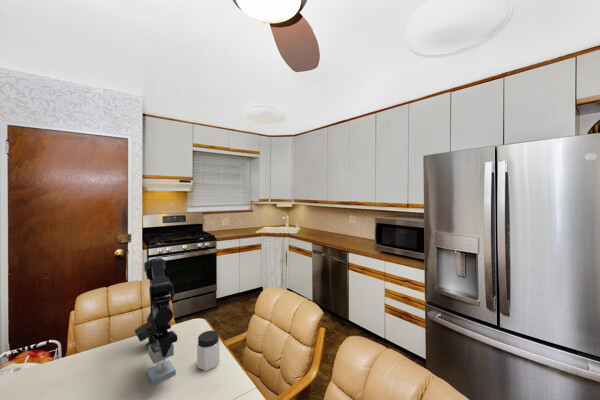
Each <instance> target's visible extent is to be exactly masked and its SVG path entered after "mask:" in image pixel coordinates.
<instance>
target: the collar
mask: <svg viewBox="0 0 600 400" xmlns="http://www.w3.org/2000/svg"><path fill="white" fill-rule="evenodd" d="M156 343H157V342H155V343H152V344H150V345H149V349H148V356H149V358H150V360H151V362H152V363H153V364H157V362H159V361H161V360H164V359H166V360H167V358H170V357H173V356H174V355H175V353H174V352H175V348H174V347H175V346H174V344H173V343H172V345H171V347H170V349H169V351H168V353H167V355H166V357H162V353H161V348H159V347H158V346H157V344H156Z"/></svg>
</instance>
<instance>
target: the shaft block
mask: <svg viewBox="0 0 600 400" xmlns="http://www.w3.org/2000/svg"><path fill="white" fill-rule="evenodd" d="M176 373H177V372H176V368H175V367H174V365H173V364H172V362H171V360H169V359H167V358H166V359H164V360H161V361H159V362H157V363H156V365H155V366H152V367H150V368H148V369H146V375H147V378H148V379H149V381H150V383H151V385H152V386H155V385H158V384H159V383H162V382H163V381H165V380H168V379H170V378H172V377H174V376H176Z"/></svg>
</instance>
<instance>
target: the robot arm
mask: <svg viewBox="0 0 600 400" xmlns="http://www.w3.org/2000/svg"><path fill="white" fill-rule="evenodd" d="M164 270H166V259H164V258H162V257H157V258H151V259H149V260H148V261H146V262H144V263H143V271H144V273H145V276H146V277H147V278H148V280H149V287H148V293H149V304H150V305H149V306H150V307H149V308H150V309H149V310H150V311H149V313H148V315H147V317H146V322H145V323H144V324H142V325H140V326H139V327H137V328H136V329H134V334H135V335H136V337H137V339H138V341H139V342H143V341H145V340H147V339H148V341H147V342H146V343H145V345H146V347H147V349H148V350H149V345H150V344H152V343H155V342H157V343H156V344H157V346H158V347H159V348H161V353H162V357H166V355H167V353H168V351H169V349H170V347H171V345H172V344H173V343H176V342H178V335H177V333H176V332H175V331H173V330H170V329H171V328H172V325H171V323H170V322H171V321H172V319H173V317H174V311H173V310H172V308H171V305H170V302H171V301H174V297H175V296H176V295H175V286H174V284H173V283H172V282H171V281H170V278H169V277H168V276H166V275H165V271H164Z"/></svg>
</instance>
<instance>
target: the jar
mask: <svg viewBox="0 0 600 400" xmlns="http://www.w3.org/2000/svg"><path fill="white" fill-rule="evenodd" d="M219 337H220V333H219V332H218V331H216V330H206V331H203V332H202V333H200V334H199V335H198V337H197V345H196V351H197V352H196V356H197V357H196V366H197V368H198V369H200V370H202V371H205V372H207V371H209V370H212V369H214V368H217V366H218V363H219V362H220V338H219Z"/></svg>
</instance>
